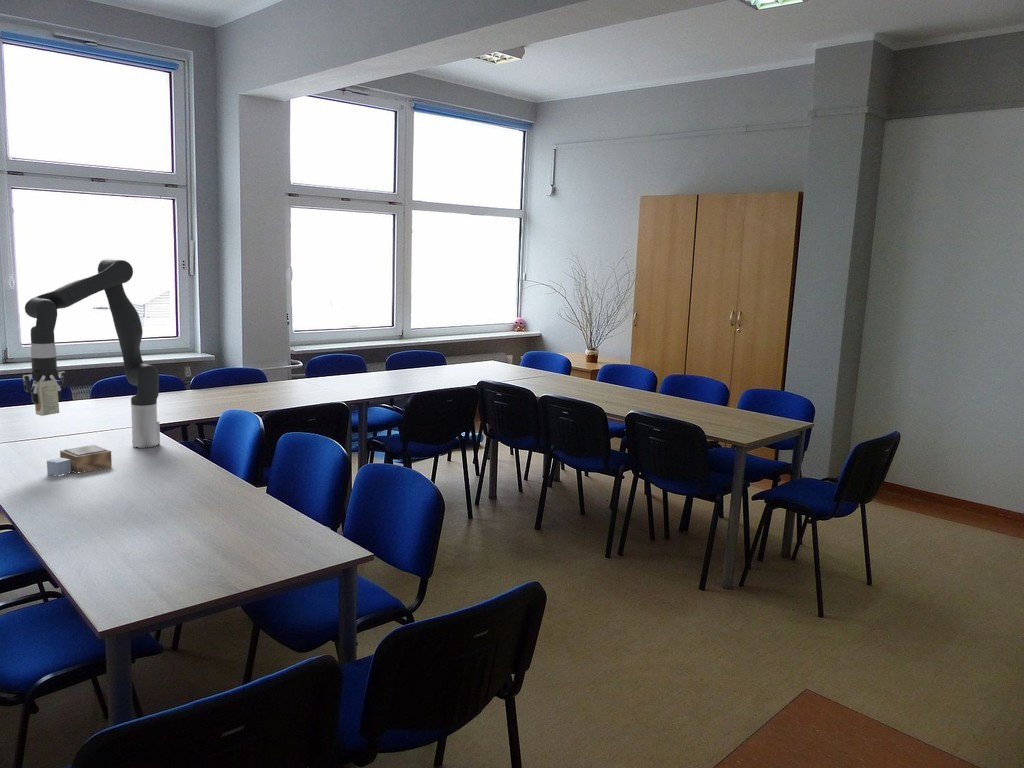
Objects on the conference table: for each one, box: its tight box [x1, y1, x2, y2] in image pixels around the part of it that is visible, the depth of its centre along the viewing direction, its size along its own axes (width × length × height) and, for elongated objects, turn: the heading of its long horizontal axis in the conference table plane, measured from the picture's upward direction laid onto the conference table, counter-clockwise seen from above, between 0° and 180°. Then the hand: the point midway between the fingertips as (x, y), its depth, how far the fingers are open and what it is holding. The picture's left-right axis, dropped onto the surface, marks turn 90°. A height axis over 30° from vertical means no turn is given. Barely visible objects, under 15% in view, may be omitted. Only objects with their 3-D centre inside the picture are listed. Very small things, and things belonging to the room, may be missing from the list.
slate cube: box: [46, 457, 72, 477], centre depth 262 cm, size 5×5×5 cm
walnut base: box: [59, 444, 113, 474], centre depth 271 cm, size 12×12×6 cm
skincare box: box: [32, 379, 60, 417], centre depth 267 cm, size 6×4×12 cm
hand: (46, 402), depth 267 cm, fingers closed on skincare box, 6 cm apart
